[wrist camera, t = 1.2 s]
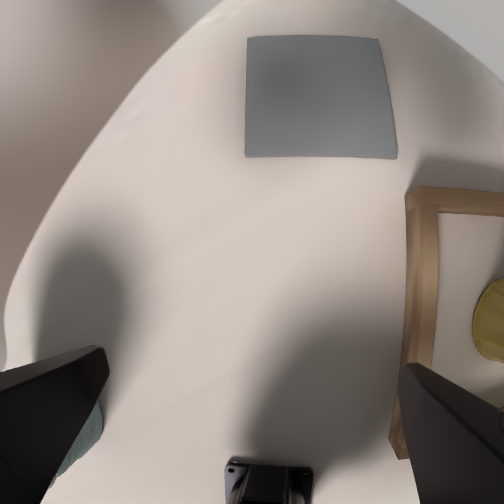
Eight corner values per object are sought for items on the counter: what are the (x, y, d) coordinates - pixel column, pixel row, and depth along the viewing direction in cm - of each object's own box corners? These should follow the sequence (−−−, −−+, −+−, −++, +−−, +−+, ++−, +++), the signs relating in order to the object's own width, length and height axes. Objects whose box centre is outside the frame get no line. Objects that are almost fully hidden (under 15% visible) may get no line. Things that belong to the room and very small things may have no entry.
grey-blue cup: (123, 396, 22) (18, 467, 10) (100, 472, 22) (24, 540, 10) (35, 330, 23) (-73, 354, 11) (23, 411, 23) (-60, 449, 11)
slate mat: (395, 159, 19) (397, 156, 19) (245, 157, 21) (244, 154, 20) (376, 43, 20) (377, 39, 19) (248, 42, 21) (247, 37, 21)
